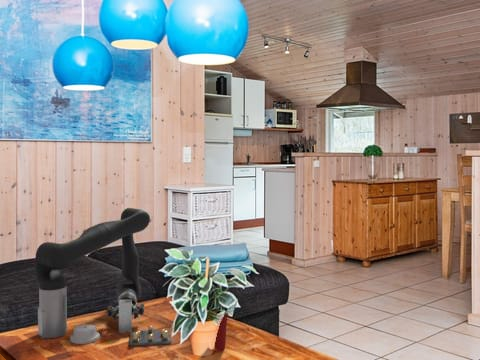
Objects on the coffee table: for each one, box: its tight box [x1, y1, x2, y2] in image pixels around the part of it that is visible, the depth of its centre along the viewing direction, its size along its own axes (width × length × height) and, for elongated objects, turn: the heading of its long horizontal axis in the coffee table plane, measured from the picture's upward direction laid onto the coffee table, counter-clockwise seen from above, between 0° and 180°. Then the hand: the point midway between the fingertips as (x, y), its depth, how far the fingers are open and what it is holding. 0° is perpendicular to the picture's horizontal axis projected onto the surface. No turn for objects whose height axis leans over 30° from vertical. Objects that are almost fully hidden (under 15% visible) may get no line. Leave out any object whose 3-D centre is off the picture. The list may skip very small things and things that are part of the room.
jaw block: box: [118, 299, 133, 334], centre depth 186 cm, size 4×4×11 cm
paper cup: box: [214, 312, 228, 352], centre depth 170 cm, size 8×8×14 cm
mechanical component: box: [69, 324, 101, 345], centre depth 178 cm, size 10×4×10 cm
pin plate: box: [129, 325, 172, 347], centre depth 178 cm, size 14×12×4 cm
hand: (125, 316), depth 184 cm, fingers open, 6 cm apart
